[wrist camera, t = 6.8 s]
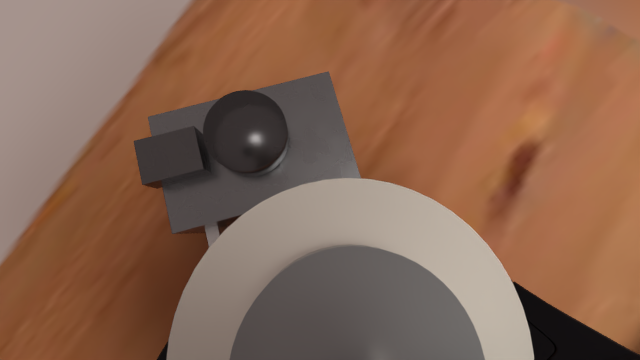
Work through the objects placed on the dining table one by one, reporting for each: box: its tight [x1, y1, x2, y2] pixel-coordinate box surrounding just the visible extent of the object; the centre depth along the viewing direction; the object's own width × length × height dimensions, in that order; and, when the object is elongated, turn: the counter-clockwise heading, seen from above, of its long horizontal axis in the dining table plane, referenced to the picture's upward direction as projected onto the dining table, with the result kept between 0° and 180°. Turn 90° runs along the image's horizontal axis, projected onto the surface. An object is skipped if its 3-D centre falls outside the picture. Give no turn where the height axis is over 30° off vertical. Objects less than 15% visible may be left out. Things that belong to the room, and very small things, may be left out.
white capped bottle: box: [166, 178, 534, 360], centre depth 10 cm, size 5×5×13 cm
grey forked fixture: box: [134, 71, 361, 247], centre depth 20 cm, size 14×11×7 cm
